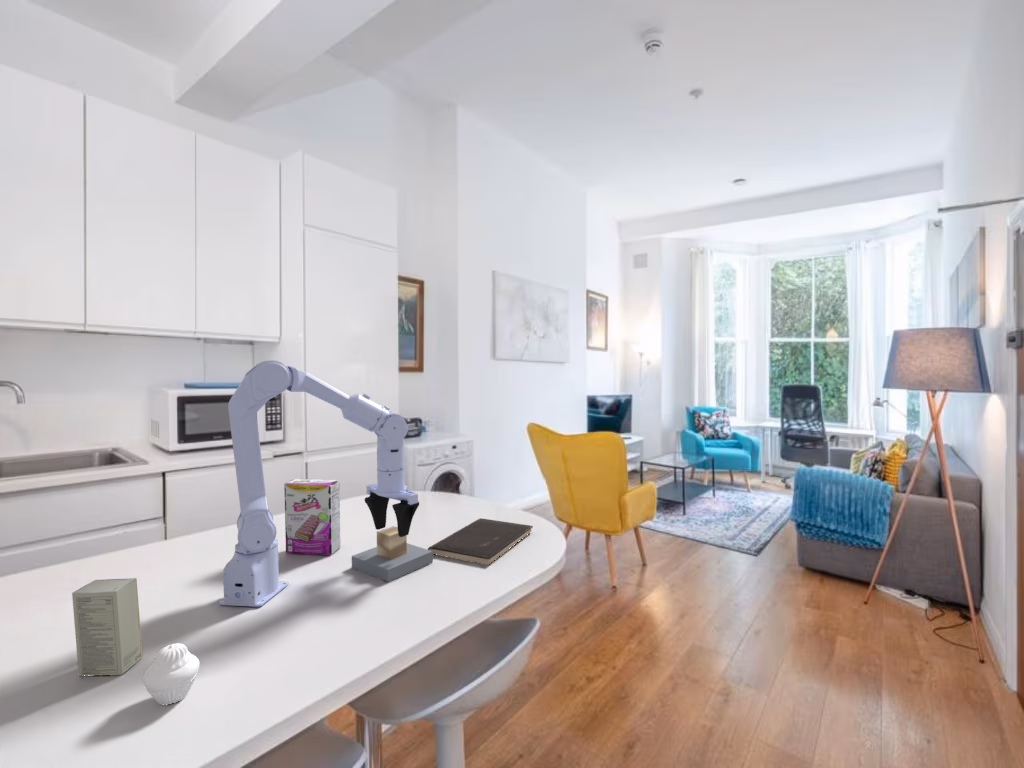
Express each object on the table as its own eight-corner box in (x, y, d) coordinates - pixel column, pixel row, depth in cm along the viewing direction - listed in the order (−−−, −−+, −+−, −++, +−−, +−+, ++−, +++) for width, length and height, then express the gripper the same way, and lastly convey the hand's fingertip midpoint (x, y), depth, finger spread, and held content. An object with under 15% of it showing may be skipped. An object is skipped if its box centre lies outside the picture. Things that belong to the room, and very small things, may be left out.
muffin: (211, 686, 68) (210, 635, 67) (170, 717, 62) (168, 662, 61) (175, 679, 69) (173, 629, 69) (131, 709, 63) (129, 655, 63)
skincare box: (143, 658, 74) (140, 577, 74) (121, 676, 70) (117, 591, 69) (99, 659, 74) (96, 578, 73) (74, 678, 70) (70, 592, 69)
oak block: (406, 552, 108) (406, 530, 108) (390, 559, 104) (389, 535, 104) (393, 548, 110) (393, 526, 110) (377, 554, 107) (376, 531, 107)
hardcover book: (532, 534, 127) (532, 525, 127) (489, 568, 107) (489, 557, 107) (478, 526, 134) (478, 517, 134) (427, 556, 114) (427, 546, 114)
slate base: (432, 562, 109) (432, 551, 109) (388, 582, 99) (388, 569, 99) (396, 550, 116) (396, 539, 116) (351, 567, 106) (351, 555, 106)
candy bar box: (284, 554, 114) (282, 483, 113) (296, 546, 119) (294, 478, 118) (331, 556, 113) (330, 484, 112) (341, 548, 118) (340, 478, 117)
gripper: (428, 469, 106) (429, 533, 106) (384, 461, 114) (385, 520, 115) (402, 475, 100) (403, 543, 100) (358, 467, 109) (359, 528, 109)
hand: (391, 531), depth 107 cm, fingers open, 7 cm apart
